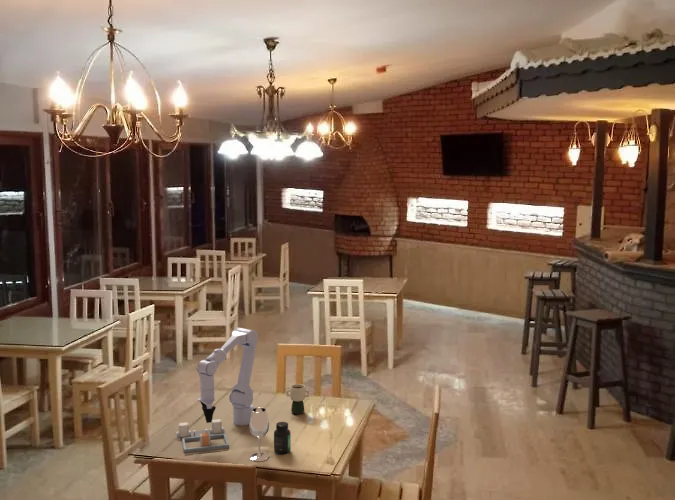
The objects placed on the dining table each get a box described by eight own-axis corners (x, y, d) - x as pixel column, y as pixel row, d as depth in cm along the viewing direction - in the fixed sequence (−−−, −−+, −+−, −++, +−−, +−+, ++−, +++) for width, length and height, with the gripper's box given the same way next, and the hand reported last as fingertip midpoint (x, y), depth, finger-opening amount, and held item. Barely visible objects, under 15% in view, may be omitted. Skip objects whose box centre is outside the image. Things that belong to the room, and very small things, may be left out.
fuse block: (223, 431, 298) (223, 424, 297) (225, 436, 292) (225, 430, 292) (175, 436, 292) (175, 429, 291) (175, 441, 286) (175, 435, 286)
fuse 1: (188, 433, 292) (188, 422, 291) (188, 436, 289) (188, 425, 288) (178, 434, 291) (178, 423, 290) (179, 437, 288) (179, 425, 287)
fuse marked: (209, 443, 283) (209, 432, 282) (210, 446, 280) (210, 435, 279) (199, 444, 282) (199, 433, 281) (200, 448, 279) (200, 436, 278)
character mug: (309, 410, 323) (309, 384, 322) (308, 415, 316) (308, 389, 315) (287, 409, 324) (287, 383, 322) (285, 415, 317) (285, 388, 315)
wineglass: (260, 463, 266) (260, 414, 263) (245, 458, 270) (245, 410, 267) (273, 456, 272) (272, 408, 270) (257, 451, 276) (257, 405, 274)
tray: (225, 439, 289) (225, 433, 289) (228, 450, 277) (228, 444, 277) (182, 443, 284) (182, 438, 284) (184, 455, 272) (184, 449, 272)
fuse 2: (220, 429, 296) (220, 419, 295) (221, 432, 293) (221, 421, 292) (211, 430, 295) (211, 419, 294) (212, 433, 292) (212, 422, 291)
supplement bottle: (293, 452, 276) (293, 424, 274) (278, 456, 272) (278, 428, 270) (285, 446, 281) (285, 419, 280) (271, 450, 278) (270, 422, 276)
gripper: (196, 383, 291) (196, 413, 293) (199, 394, 277) (200, 426, 279) (212, 382, 293) (213, 412, 295) (216, 393, 279) (217, 424, 281)
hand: (208, 419), depth 287 cm, fingers open, 7 cm apart
